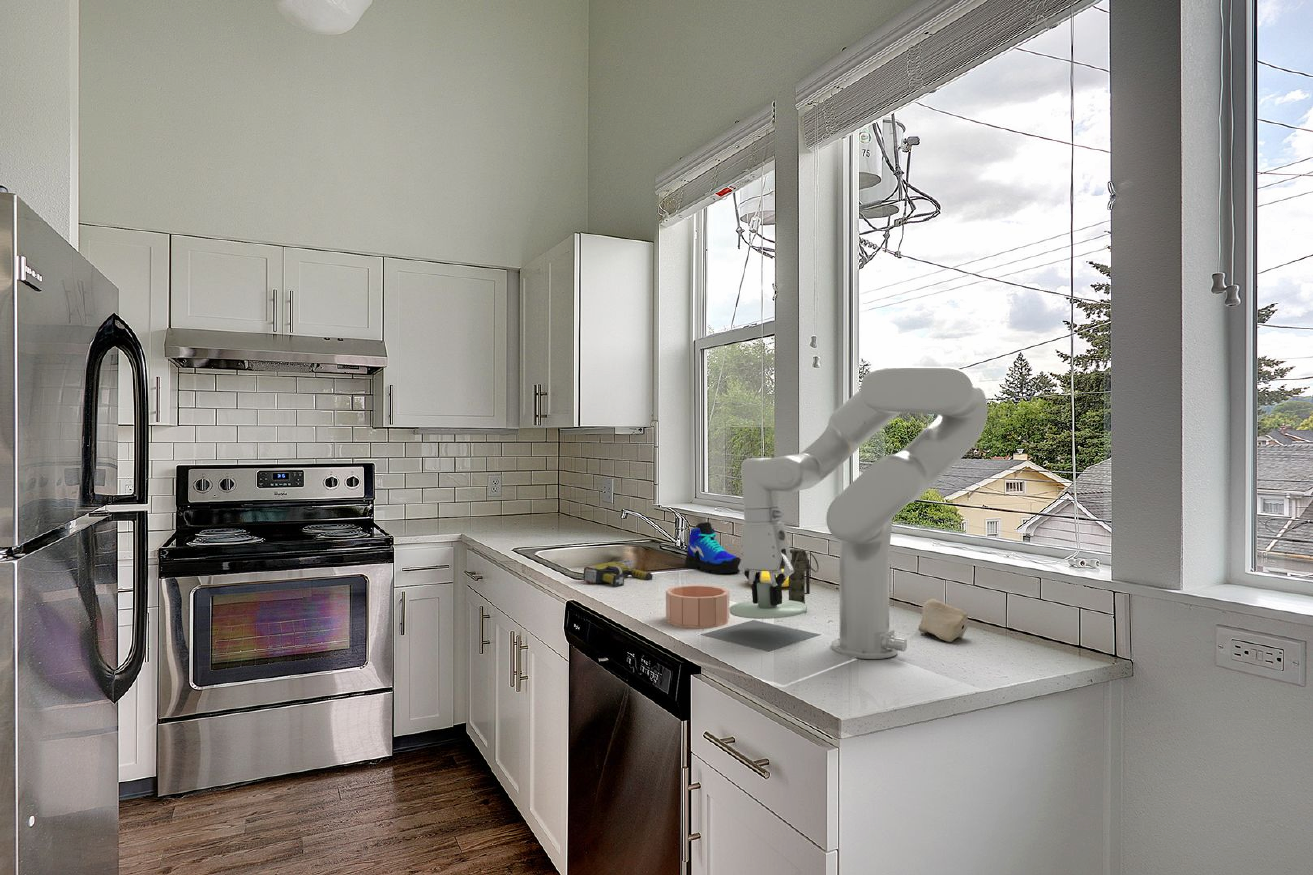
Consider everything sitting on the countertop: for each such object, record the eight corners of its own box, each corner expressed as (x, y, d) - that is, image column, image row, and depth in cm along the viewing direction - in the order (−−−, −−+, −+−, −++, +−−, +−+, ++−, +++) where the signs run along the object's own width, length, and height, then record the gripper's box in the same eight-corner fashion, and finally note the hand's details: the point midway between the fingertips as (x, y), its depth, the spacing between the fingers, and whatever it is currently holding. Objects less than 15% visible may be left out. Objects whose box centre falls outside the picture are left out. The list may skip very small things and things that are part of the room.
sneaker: (724, 577, 233) (723, 527, 233) (679, 566, 253) (679, 520, 252) (748, 574, 238) (748, 525, 238) (702, 563, 258) (702, 518, 257)
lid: (821, 607, 164) (820, 579, 164) (775, 621, 152) (773, 592, 152) (761, 600, 175) (759, 574, 175) (714, 613, 164) (712, 585, 164)
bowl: (741, 622, 177) (741, 591, 177) (699, 633, 167) (699, 600, 167) (695, 612, 187) (695, 583, 187) (654, 622, 177) (654, 591, 177)
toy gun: (667, 566, 237) (625, 557, 244) (626, 575, 216) (581, 565, 223) (665, 581, 237) (623, 572, 244) (624, 592, 216) (579, 582, 223)
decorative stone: (929, 627, 173) (929, 595, 173) (974, 640, 161) (974, 606, 161) (904, 630, 170) (904, 597, 170) (948, 644, 158) (948, 609, 158)
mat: (820, 636, 164) (820, 634, 164) (768, 653, 152) (768, 651, 152) (753, 622, 177) (753, 619, 177) (700, 636, 165) (700, 634, 165)
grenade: (795, 616, 182) (795, 552, 182) (779, 611, 187) (779, 549, 187) (824, 612, 187) (824, 549, 186) (808, 607, 192) (808, 546, 192)
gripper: (805, 515, 161) (811, 604, 160) (742, 514, 173) (747, 597, 172) (783, 518, 156) (789, 610, 155) (720, 517, 168) (725, 603, 167)
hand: (767, 602), depth 164 cm, fingers closed on lid, 4 cm apart
